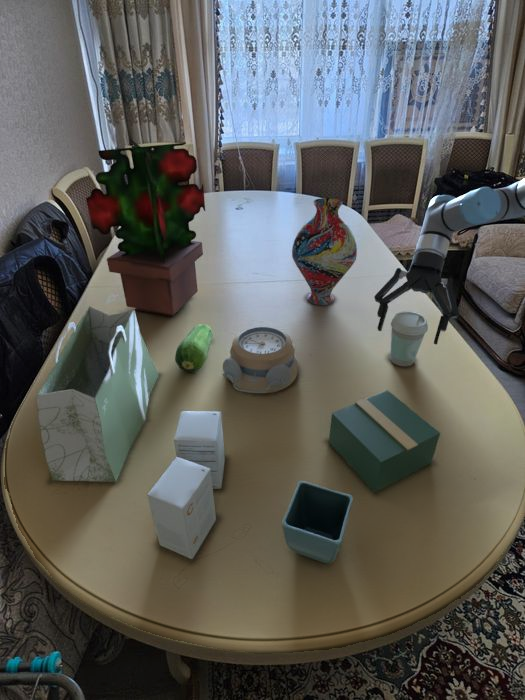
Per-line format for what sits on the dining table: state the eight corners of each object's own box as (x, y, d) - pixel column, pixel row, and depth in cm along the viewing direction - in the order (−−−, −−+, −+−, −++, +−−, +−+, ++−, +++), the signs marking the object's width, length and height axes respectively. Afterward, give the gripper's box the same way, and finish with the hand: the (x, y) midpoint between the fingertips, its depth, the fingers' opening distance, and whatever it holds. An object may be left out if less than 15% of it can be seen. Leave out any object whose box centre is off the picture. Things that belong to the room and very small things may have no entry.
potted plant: (151, 283, 150) (127, 137, 124) (211, 293, 144) (199, 141, 118) (112, 315, 133) (75, 152, 107) (179, 328, 126) (156, 158, 101)
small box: (185, 506, 78) (176, 455, 71) (217, 519, 76) (211, 467, 68) (158, 546, 72) (145, 494, 64) (192, 561, 70) (183, 509, 62)
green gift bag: (123, 482, 82) (95, 383, 69) (49, 480, 83) (7, 382, 70) (161, 375, 109) (146, 289, 95) (104, 374, 109) (82, 288, 96)
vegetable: (176, 347, 103) (200, 306, 120) (166, 368, 107) (190, 326, 124) (205, 361, 104) (224, 319, 121) (194, 382, 108) (214, 338, 125)
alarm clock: (303, 324, 110) (288, 382, 91) (301, 355, 115) (287, 415, 97) (236, 317, 113) (208, 372, 94) (237, 347, 118) (211, 405, 100)
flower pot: (297, 513, 77) (299, 479, 72) (348, 530, 74) (354, 495, 69) (280, 559, 70) (280, 524, 65) (335, 579, 67) (340, 544, 62)
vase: (293, 314, 132) (297, 213, 115) (288, 285, 148) (290, 193, 131) (356, 313, 133) (369, 212, 116) (345, 284, 148) (355, 192, 131)
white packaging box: (187, 458, 87) (180, 409, 80) (225, 459, 87) (222, 410, 80) (180, 489, 81) (172, 439, 74) (221, 490, 81) (217, 440, 73)
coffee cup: (403, 374, 108) (412, 332, 102) (377, 357, 114) (384, 316, 108) (426, 362, 112) (437, 321, 105) (400, 346, 118) (409, 306, 111)
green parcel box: (432, 463, 85) (441, 432, 81) (375, 493, 80) (382, 462, 75) (381, 418, 96) (387, 388, 91) (327, 441, 90) (331, 411, 86)
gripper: (480, 271, 111) (459, 351, 109) (381, 254, 120) (359, 328, 118) (485, 259, 104) (462, 344, 102) (379, 242, 113) (355, 320, 111)
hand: (406, 336), depth 110 cm, fingers open, 13 cm apart
